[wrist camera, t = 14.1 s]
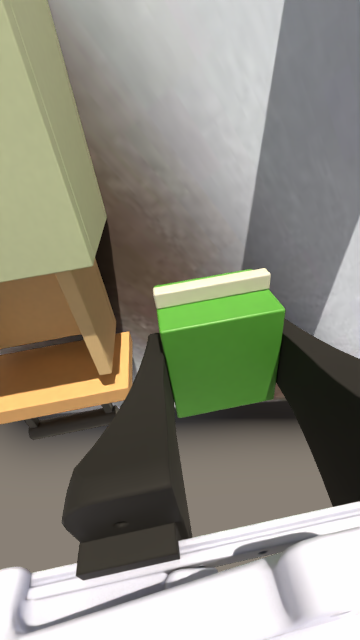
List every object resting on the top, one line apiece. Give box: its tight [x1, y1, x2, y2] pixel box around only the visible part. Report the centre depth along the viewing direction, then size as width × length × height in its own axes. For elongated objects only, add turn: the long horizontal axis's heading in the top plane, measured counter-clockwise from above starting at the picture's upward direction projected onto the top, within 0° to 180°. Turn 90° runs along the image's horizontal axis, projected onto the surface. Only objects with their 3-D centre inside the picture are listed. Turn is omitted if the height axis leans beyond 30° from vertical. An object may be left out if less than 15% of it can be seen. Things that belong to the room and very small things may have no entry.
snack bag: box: [153, 268, 285, 418], centre depth 12 cm, size 7×5×4 cm
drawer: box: [0, 259, 132, 440], centre depth 18 cm, size 17×11×6 cm, turn 7°
